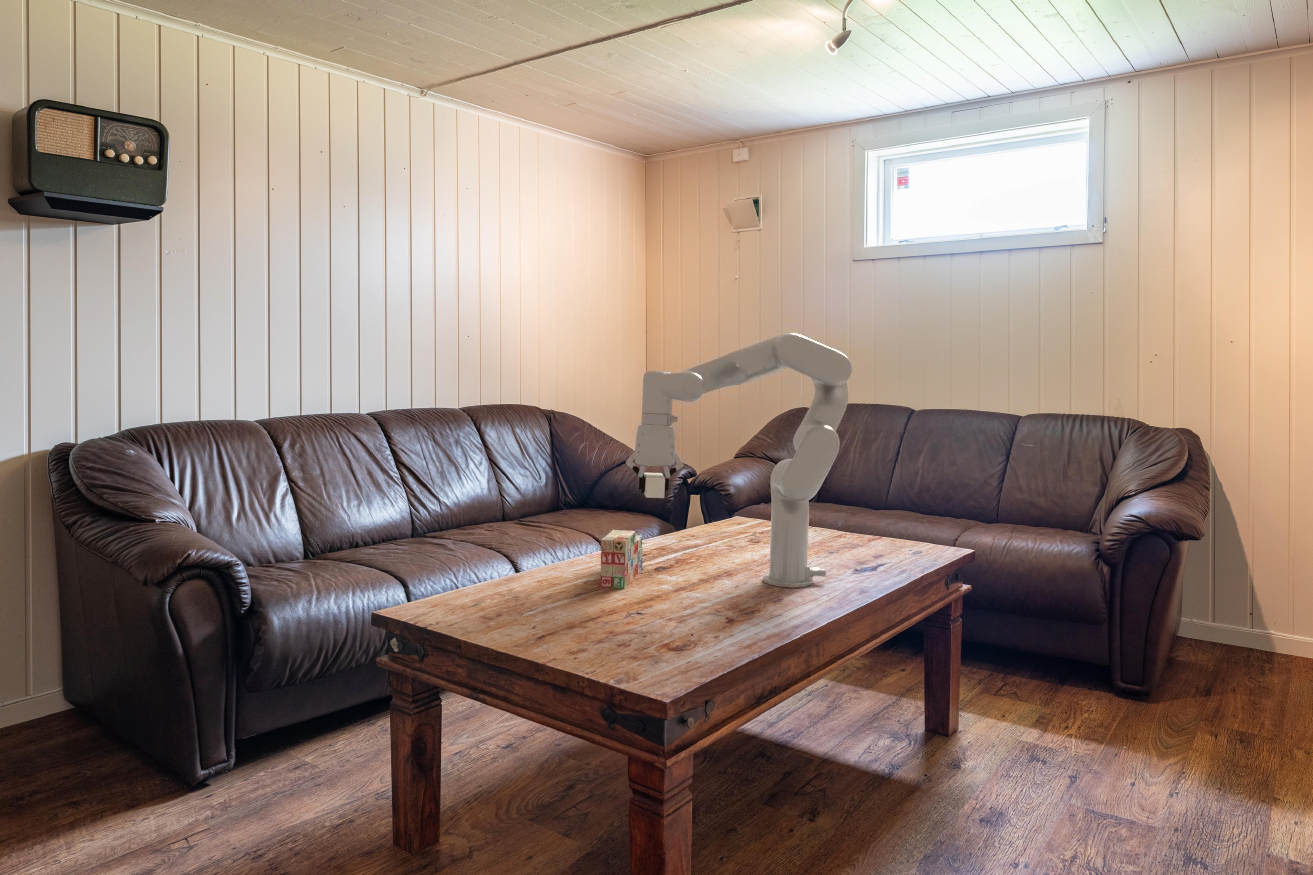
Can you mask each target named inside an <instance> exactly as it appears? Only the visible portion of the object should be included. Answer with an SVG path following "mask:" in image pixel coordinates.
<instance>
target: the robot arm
mask: <svg viewBox="0 0 1313 875" xmlns="http://www.w3.org/2000/svg"><path fill="white" fill-rule="evenodd" d="M786 369H791V370H793V371H795V372H798V373H800V374H802V375H804V376H807V377H809V378H811V380H812V382H813V386H814V395H813V399H812V401H811V404H810V405H809V407H808V410H807V411H806V414H804V415H805V416H804V418H803V419H802V421H801V423H800V424H799V426H798V428H797V430H796V431H795V434H794V436H793V440H792V442H793V443H792V444H793V447H794V450H795V453H794V455H793V457H792V458H787V459H786V458H785V459H783V460H781V461H779V462H778V463H776V465H775V466H774V467H773V469H772V472H771V474H770V497H771V503H770V504H771V511H770V512H771V514H770V517H771V518H770V539H769V540H770V544H769V547H770V548H769V572H767V573H765V574H764V575H763V576H762V579H763V580H762V581H763V582H764V583H765V584H768V585H771V586H774V587H781V588H790V589H791V588H792V589H793V588H795V589H796V588H805V587H810V586H811V585H813V583H814V582H813V581H814V577H826V574H827V571H826V568H819V567H810V565H809V564H808V549H809V523H810V502H809V501H810V500H812V499H813V497H815V496H816V494H817V493H818V491H819V490H820V489H821V487H822V486H823V483H824V481H825V479H826V477H827V476H828V475H829V472H830V470H831V468H832V466H833V465H834V463H835V461H836V459H837V456H838V454H839V451H840V445H841V444H840V443H841V442H840V437H839V435H838V433H837V429H838V427H839V425H840V423H841V421H842V419H843V418H844V417H843V416H844V414H845V413H846V410H847V407H848V404H849V388H848V380H849V379H850V378H851V376H852V372H853V366H852V362H851V360H850V358H849V357H848V356H847V355H845V354H844V353H843V352H841V351H839V350H837V349H834V348H831V347H829V346H827V345H825V344H822V343H820V342H817V341H815V340H813V339H811V338H808V337H806V336H804V335H802V334H798V333H795V332H790V333H789V332H788V333H787V332H786V333H782V334H781V333H780V334H779V335H776V336H775V335H774V336H773V337H770V338H767V339H765V340H762V341H758V342H756V343H754V344H751V345H748V346H746V347H743V348H739V349H737V350H735V351H732V352H729V353H727V354H725V355H723V356H720V357H717V358H714V359H712V360H710V361H707V362H704V363H701V364H699V365H696V366H693V367H690V368H688V369H685V370H682V371H680V372H670V371H665V370H647V371H645V373H644V374H643V378H642V398H641V399H642V400H641V402H642V403H641V422H640V424H638V425H637V429H636V433H635V434H636V435H635V446H634V451H633V453H632V454H630V456H629V458H627V460H626V461H625V464H626V465H627V467H629V468H630V469H631V470H633V472H634V473H635V474H636V475H637V476H638V490H640V491H641V493H640V494H644V488H645V477H644V473H645V470H646V468H647V467H646V466H649V467H663V471H664V474H663V476H664V477H665V492H664V495H666V494H667V493H666V492H667V491H669V490H670V489H669V486H670V485H669V484H670V478H671V477H672V476H673V475H674V474H675V473H676V472H678V471H679V470H680V469H682V468H683V467H684V466H685V465H684V463H683V461H682V460H681V459H680V457H679V456H678V454H677V452H676V448H677V447H676V431H675V430H676V429H675V426H672V424H673V423H677V422H678V416H676V415H673V400H674V401H675V400H676V401H680V402H685V403H686V402H687V403H692V402H697V401H698V400H700V399H701V398H702V396H703V395H705V394H707V393H710V392H713V391H715V390H720V389H722V388H723V389H724V388H726V387H731V386H732V387H733V386H740V385H744V384H749V383H751V382H753V381H755V380H759V379H761V378H764V377H766V376H769V375H772V374H776V373H778V372H781V371H782V370H786ZM634 462H635V463H636V464H637V465H636V464H634ZM675 463H676V464H675ZM638 465H639V466H640V467H639V466H638ZM672 466H673V467H672ZM669 467H671V468H670V469H669Z"/></svg>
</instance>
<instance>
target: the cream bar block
mask: <svg viewBox="0 0 1313 875" xmlns="http://www.w3.org/2000/svg"><path fill="white" fill-rule="evenodd" d="M644 477H645V488H644V493H643V495H644V496H645V498H647V499H648V498H650V499H651V498H652V499H664V498H665V494H664V492H665V477H664V474H663V473H662V472H644Z"/></svg>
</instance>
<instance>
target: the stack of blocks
mask: <svg viewBox="0 0 1313 875" xmlns="http://www.w3.org/2000/svg"><path fill="white" fill-rule="evenodd" d="M600 540H601V541H600V583H599V584H600V588H604V589H617V590H618V589H622V590H625V589H626V588H627V586H629V585H630V584H631V583H632V582H633V580H634V579H635V577H637V575H638V574H640V572H641V571H642V570H643V557H644V556H643V555H644V554H643V551H644V550H643V535H638V534H636V531H635V530H623V529H622V530H619V529H612V530H611V531H610V532H609V533H608V534H606V535H605V536H604V537H602V538H601V539H600Z"/></svg>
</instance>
